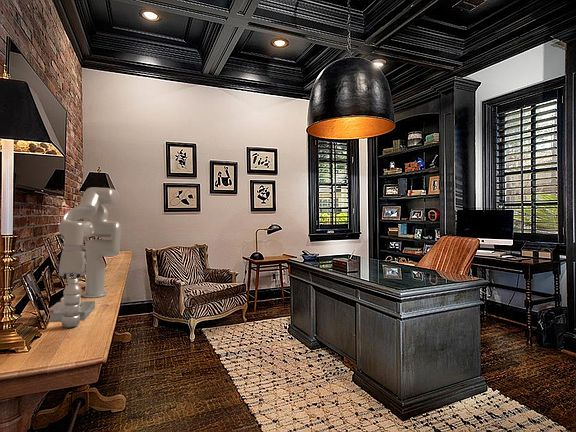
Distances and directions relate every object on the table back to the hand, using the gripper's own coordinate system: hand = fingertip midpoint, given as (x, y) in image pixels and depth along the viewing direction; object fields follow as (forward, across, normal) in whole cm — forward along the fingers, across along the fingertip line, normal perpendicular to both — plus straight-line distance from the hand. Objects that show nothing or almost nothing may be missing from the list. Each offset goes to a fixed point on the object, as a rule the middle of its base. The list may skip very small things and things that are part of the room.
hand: (71, 288), depth 164 cm
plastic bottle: (+12, -5, +19) cm, 23 cm away
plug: (+12, 0, -1) cm, 12 cm away
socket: (+12, 0, 0) cm, 12 cm away
